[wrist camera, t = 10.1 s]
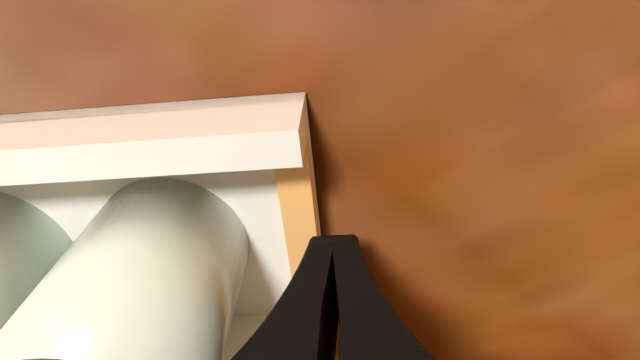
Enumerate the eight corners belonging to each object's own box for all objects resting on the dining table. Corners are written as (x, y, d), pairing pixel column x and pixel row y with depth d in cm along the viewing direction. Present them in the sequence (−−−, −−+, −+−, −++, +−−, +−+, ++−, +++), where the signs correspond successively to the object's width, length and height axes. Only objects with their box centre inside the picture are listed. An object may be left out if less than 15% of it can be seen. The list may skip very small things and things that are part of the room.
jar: (133, 304, 16) (14, 529, 10) (72, 190, 14) (-132, 394, 8) (264, 288, 16) (222, 515, 10) (225, 167, 13) (136, 367, 7)
